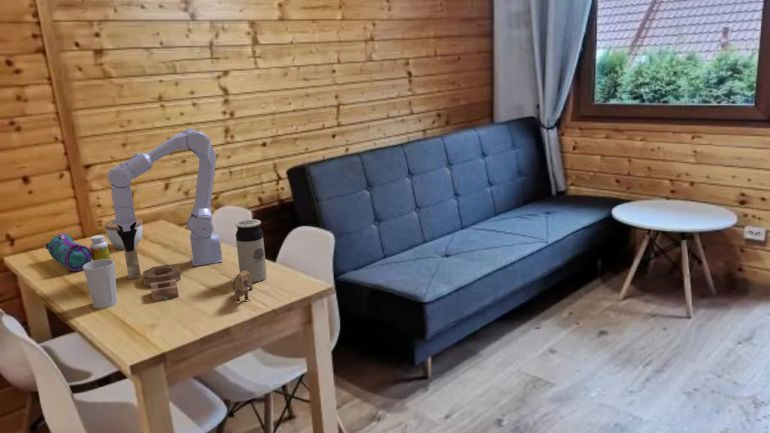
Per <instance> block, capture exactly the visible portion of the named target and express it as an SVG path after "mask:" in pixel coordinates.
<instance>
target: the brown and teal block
mask: <svg viewBox="0 0 770 433" xmlns="http://www.w3.org/2000/svg"><path fill="white" fill-rule="evenodd" d="M123 250H124V258H125V263H126V270H127V276H128V279H129V280H131V279H137V278H141V267H140V263H139V256H138V250H137V246H135V247H134V251H129V252H127V251H126V249H123Z"/></svg>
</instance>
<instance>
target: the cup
mask: <svg viewBox="0 0 770 433" xmlns="http://www.w3.org/2000/svg"><path fill="white" fill-rule="evenodd" d="M115 268H116V266H115V261H114V260H113V259H111V258H110V259H102V260H96V261H93V260H91V262H89V263H86V264H85V265H83V273H84V276H85V278H86V283H87V286H88V290H89V294H90V297H91V301H92V307H93V308H94V309H107V308H110V307H114V306H115V305H117V303H118V302H119V301H118V295H117V282H116V271H115V270H116V269H115Z"/></svg>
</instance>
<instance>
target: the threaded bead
mask: <svg viewBox="0 0 770 433" xmlns="http://www.w3.org/2000/svg"><path fill="white" fill-rule="evenodd" d="M150 289H151V290H150V291H151V297H152V302H157V301H164V300H163V299H164V297H168V299H167V300H169V299H173V298H174V297H175V298H179V289H178V283H177V282H176V279H174V280H168V281H162V282H156V283H151V286H150Z"/></svg>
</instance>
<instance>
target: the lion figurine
mask: <svg viewBox="0 0 770 433" xmlns="http://www.w3.org/2000/svg"><path fill="white" fill-rule="evenodd" d="M232 289H233V292H234V294H235V297H236V298H235V299H236V300H235V301H237V302H239V301H240V302H241V297H240V295H243V294H244V298H243V299H244V301H245V300H249V299H250V298H249V289H253V290H254V287H253V283H252V281H251V276H250V274H249V272H247V271H242V272H240V271H239V273H238V274H236V275H235V277H234V280H233V281H232ZM249 301H250V300H249ZM240 302H239V303H240Z"/></svg>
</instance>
